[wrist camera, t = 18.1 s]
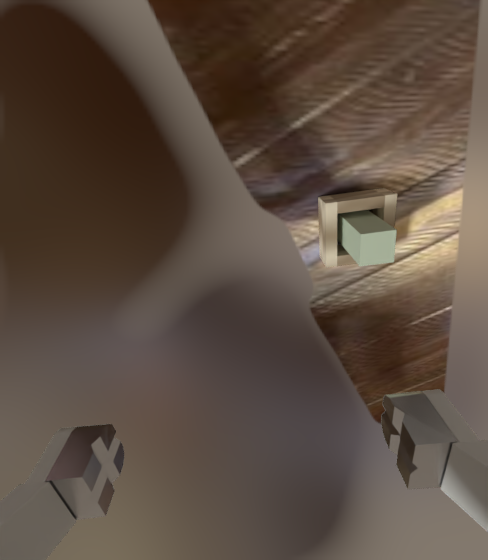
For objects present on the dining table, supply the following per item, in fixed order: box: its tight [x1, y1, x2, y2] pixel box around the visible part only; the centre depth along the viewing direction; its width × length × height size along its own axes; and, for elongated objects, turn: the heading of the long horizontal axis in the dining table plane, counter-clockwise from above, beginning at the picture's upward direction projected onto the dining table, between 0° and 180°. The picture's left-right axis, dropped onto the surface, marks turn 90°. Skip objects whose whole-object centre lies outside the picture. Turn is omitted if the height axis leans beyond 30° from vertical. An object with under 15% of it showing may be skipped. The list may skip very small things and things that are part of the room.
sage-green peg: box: [337, 210, 397, 266], centre depth 40 cm, size 4×4×10 cm
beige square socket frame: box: [318, 188, 397, 267], centre depth 43 cm, size 9×9×4 cm
